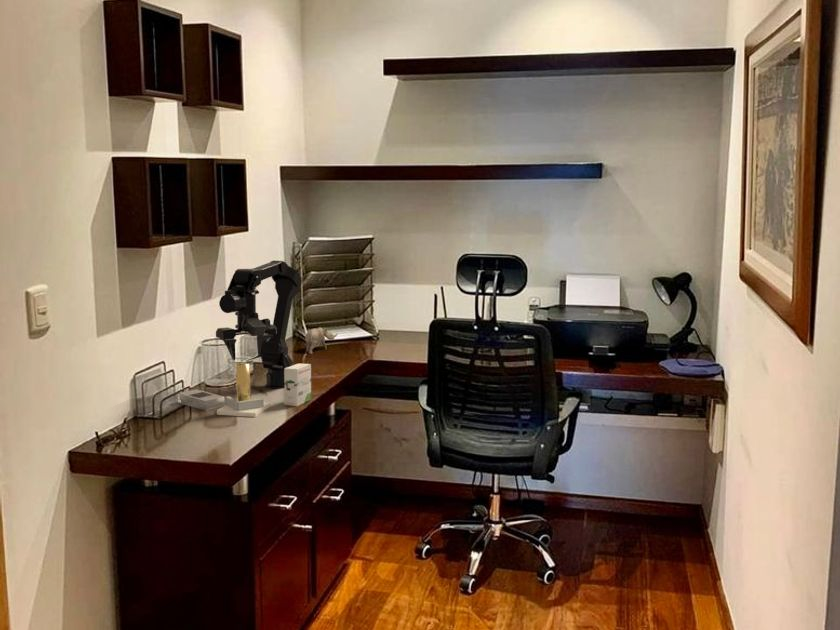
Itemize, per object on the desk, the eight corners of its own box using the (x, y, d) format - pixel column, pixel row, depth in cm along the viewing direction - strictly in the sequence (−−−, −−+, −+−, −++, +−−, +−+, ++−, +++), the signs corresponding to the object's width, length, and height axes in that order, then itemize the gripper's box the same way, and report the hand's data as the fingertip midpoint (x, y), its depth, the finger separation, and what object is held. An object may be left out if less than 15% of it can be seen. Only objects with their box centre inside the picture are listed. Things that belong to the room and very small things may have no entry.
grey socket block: (177, 402, 260) (177, 393, 259) (196, 398, 265) (196, 389, 265) (205, 410, 251) (205, 401, 251) (224, 406, 257) (224, 396, 256)
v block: (232, 404, 259) (231, 392, 258) (269, 406, 257) (269, 394, 257) (216, 414, 247) (216, 402, 247) (255, 416, 245) (255, 404, 245)
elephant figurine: (292, 346, 337) (308, 314, 342) (308, 361, 348) (323, 329, 353) (307, 350, 333) (323, 318, 338) (323, 365, 344) (338, 333, 349)
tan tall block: (241, 404, 255) (240, 362, 253) (253, 405, 253) (252, 363, 251) (234, 407, 251) (233, 364, 249) (246, 408, 250) (244, 365, 248)
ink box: (298, 398, 267) (298, 362, 265) (312, 400, 265) (311, 363, 263) (283, 404, 259) (283, 367, 258) (297, 406, 257) (297, 369, 256)
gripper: (231, 314, 250) (232, 365, 252) (285, 310, 262) (285, 359, 264) (214, 310, 258) (215, 360, 260) (267, 306, 270) (267, 353, 273)
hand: (247, 358), depth 264 cm, fingers open, 9 cm apart
